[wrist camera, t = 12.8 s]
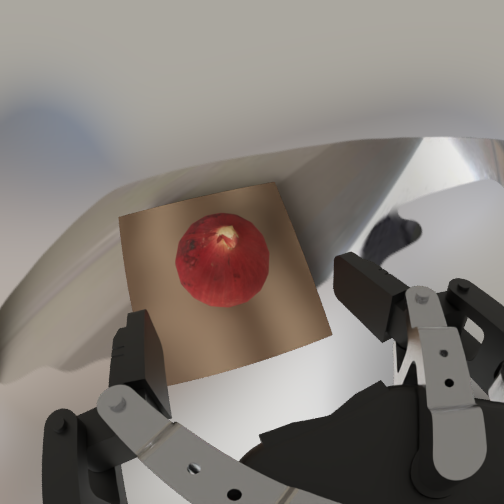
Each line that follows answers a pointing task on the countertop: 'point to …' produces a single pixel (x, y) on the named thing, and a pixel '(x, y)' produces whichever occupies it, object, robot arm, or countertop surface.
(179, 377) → the walnut base
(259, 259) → the onion
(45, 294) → the countertop surface
